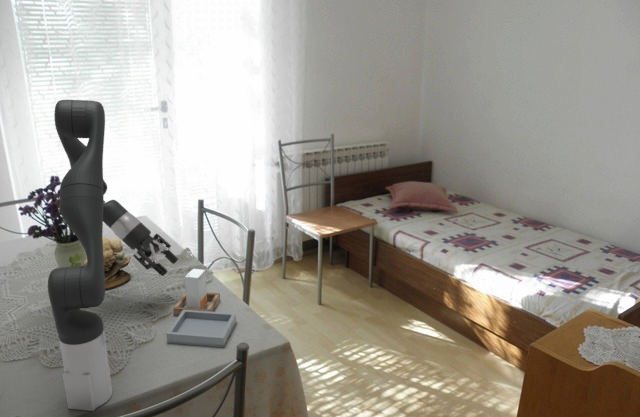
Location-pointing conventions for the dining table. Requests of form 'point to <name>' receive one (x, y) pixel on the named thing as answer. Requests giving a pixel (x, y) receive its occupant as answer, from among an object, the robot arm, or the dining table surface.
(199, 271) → the skincare box
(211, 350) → the dining table surface
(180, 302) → the socket block
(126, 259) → the beige lumpy sculpture
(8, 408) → the dining table surface
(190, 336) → the tray
